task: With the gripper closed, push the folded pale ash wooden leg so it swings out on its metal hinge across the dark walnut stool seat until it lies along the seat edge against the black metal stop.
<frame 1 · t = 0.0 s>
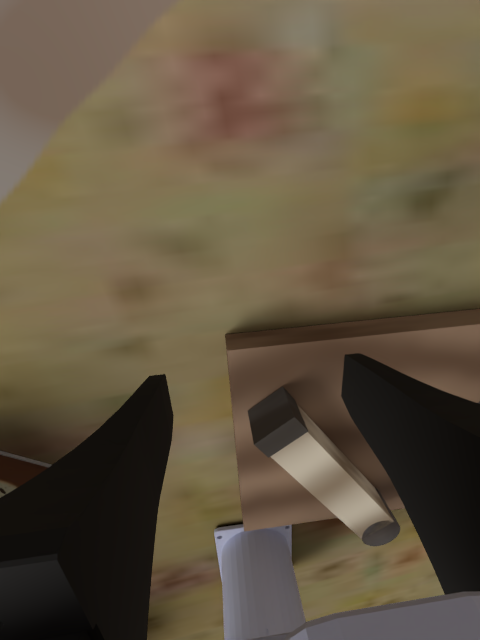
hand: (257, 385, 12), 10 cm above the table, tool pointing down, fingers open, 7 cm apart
food container: (5, 476, 25), on the table
stool seat: (356, 417, 26), on the table
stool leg: (331, 475, 23), point 4 cm above the table, hinge at 70.0°
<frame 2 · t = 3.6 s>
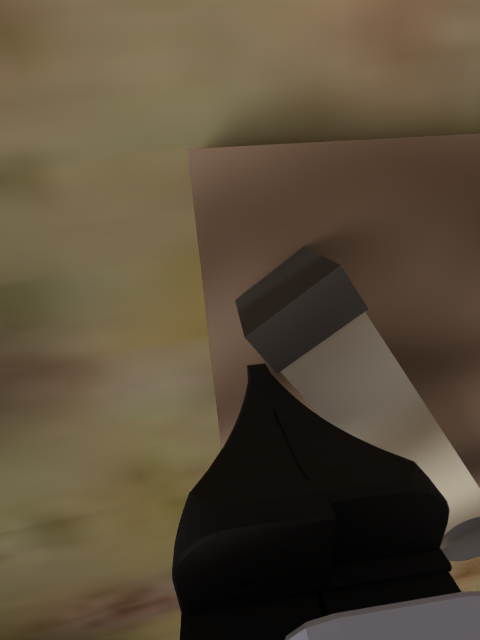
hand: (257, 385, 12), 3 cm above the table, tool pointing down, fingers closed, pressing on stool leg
stool seat: (417, 345, 16), on the table
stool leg: (390, 432, 12), point 4 cm above the table, hinge at 69.7°, touching gripper
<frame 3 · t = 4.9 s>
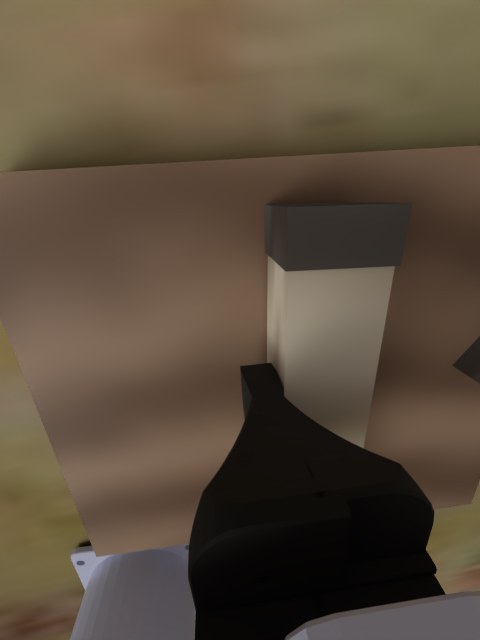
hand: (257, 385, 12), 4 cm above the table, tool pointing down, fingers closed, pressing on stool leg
stool seat: (281, 364, 16), on the table
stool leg: (309, 423, 12), point 4 cm above the table, hinge at 33.0°, touching gripper
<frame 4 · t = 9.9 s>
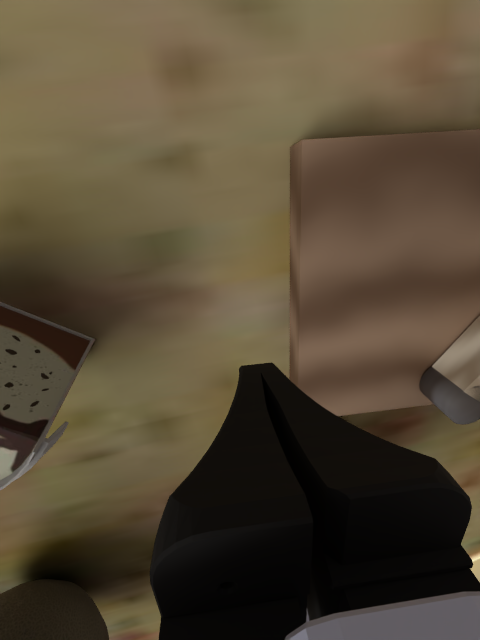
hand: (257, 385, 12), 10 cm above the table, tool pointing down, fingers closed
food container: (17, 346, 21), on the table
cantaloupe: (62, 579, 32), on the table
stool seat: (432, 282, 22), on the table
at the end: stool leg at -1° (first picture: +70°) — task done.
